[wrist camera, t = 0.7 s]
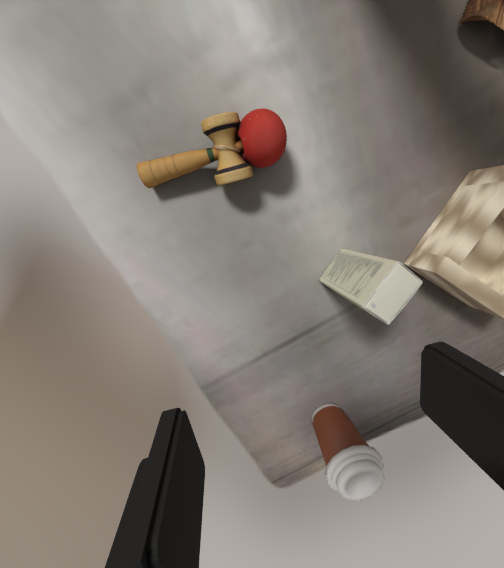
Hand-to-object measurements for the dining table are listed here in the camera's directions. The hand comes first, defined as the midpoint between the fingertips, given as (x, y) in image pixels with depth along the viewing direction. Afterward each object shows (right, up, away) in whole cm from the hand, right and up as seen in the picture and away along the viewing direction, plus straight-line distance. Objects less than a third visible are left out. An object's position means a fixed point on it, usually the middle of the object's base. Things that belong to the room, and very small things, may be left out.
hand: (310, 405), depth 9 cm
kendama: (-7, +21, +22) cm, 31 cm away
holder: (+33, +11, +29) cm, 46 cm away
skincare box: (+12, +7, +28) cm, 31 cm away
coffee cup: (+12, -21, +37) cm, 44 cm away
